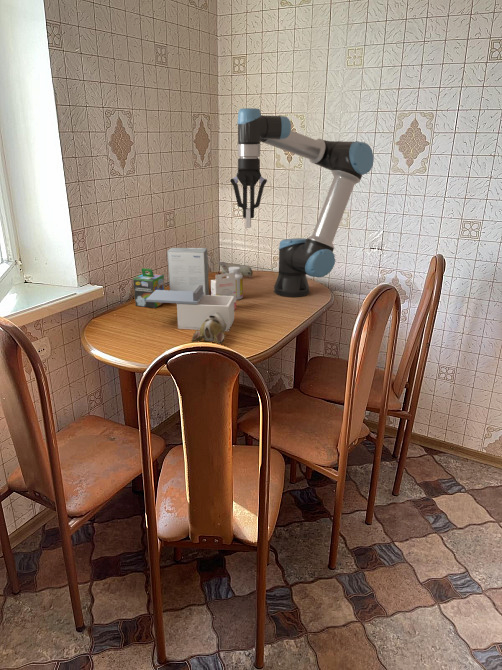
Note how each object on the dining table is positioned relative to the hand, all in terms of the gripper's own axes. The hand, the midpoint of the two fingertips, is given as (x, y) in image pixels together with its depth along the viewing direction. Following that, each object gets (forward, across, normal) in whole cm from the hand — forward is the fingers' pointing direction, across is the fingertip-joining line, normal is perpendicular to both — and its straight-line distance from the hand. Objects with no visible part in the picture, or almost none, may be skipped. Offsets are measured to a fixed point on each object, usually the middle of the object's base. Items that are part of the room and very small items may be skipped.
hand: (248, 227), depth 182 cm
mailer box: (+32, +13, +14) cm, 38 cm away
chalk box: (+33, +40, -5) cm, 52 cm away
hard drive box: (+33, +27, -17) cm, 46 cm away
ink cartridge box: (+33, +10, -3) cm, 34 cm away
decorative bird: (+33, +13, -50) cm, 61 cm away
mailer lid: (+23, +24, +14) cm, 36 cm away
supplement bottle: (+33, +8, -18) cm, 38 cm away
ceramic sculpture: (+33, +8, +29) cm, 44 cm away
